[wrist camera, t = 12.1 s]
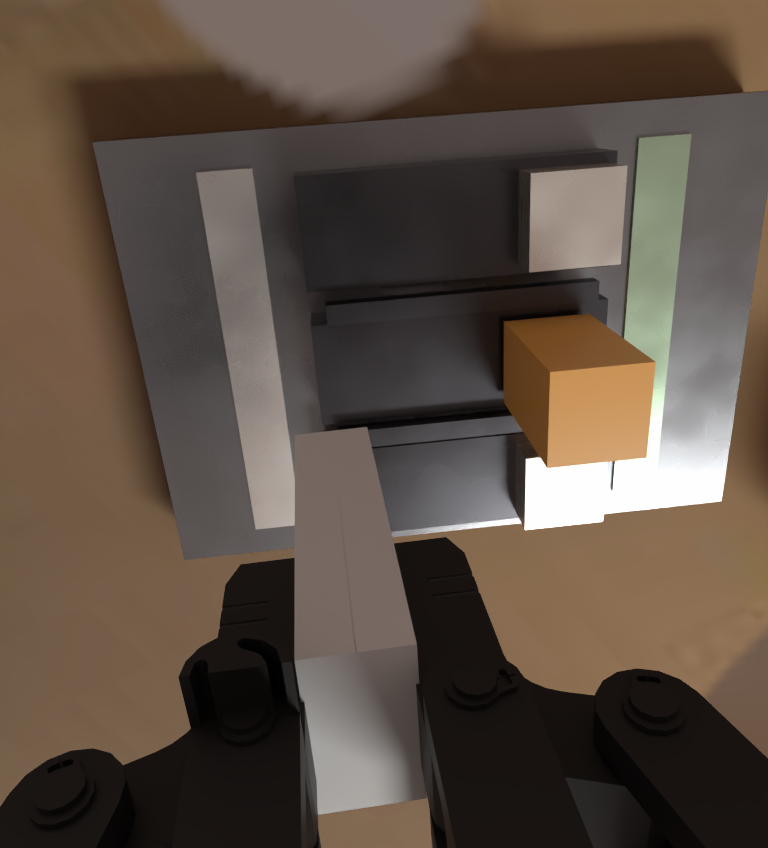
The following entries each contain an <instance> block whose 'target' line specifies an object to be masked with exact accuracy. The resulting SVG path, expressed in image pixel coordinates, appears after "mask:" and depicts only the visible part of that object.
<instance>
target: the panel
mask: <svg viewBox="0 0 768 848" xmlns="http://www.w3.org/2000/svg"><path fill="white" fill-rule="evenodd" d="M92 143H93V148H94V152H95V157H96V161H97V166H98V170H99V175H100V179H101V184H102V188H103V193H104V197H105V202H106V206H107V211H108V216H109V220H110V225H111V229H112V234H113V238H114V243H115V247H116V252H117V256H118V261H119V265H120V270H121V274H122V279H123V283H124V288H125V292H126V297H127V301H128V306H129V310H130V315H131V320H132V324H133V329H134V333H135V338H136V342H137V347H138V351H139V356H140V360H141V365H142V369H143V374H144V378H145V383H146V387H147V392H148V396H149V401H150V405H151V410H152V414H153V419H154V424H155V428H156V433H157V437H158V442H159V446H160V451H161V455H162V460H163V464H164V469H165V473H166V478H167V482H168V487H169V491H170V496H171V500H172V505H173V509H174V514H175V518H176V523H177V528H178V532H179V537H180V541H181V546H182V550H183V555H184V559H185V560H187V559H196V558H205V557H214V556H223V555H232V554H242V553H251V552H260V551H269V550H278V549H288V548H295V435H298V434H307V433H316V432H325V431H335V430H344V429H353V428H362V427H367V429H368V433H369V437H370V442H371V446H372V450H373V455H374V459H375V464H376V468H377V472H378V477H379V481H380V485H381V490H382V494H383V498H384V503H385V507H386V512H387V516H388V520H389V525H390V529H391V533H392V537H398V536H407V535H416V534H425V533H434V532H444V531H453V530H462V529H471V528H480V527H490V526H499V525H508V524H517V523H522V525H523V527H524V529H525V530H528V529H538V528H547V527H556V526H565V525H574V524H583V523H592V522H602V521H603V514H609V513H618V512H627V511H636V510H646V509H655V508H664V507H673V506H682V505H692V504H701V503H710V502H719V501H722V494H723V488H724V481H725V474H726V467H727V461H728V454H729V447H730V440H731V434H732V427H733V420H734V413H735V407H736V400H737V393H738V387H739V380H740V373H741V366H742V360H743V353H744V346H745V339H746V333H747V326H748V319H749V313H750V306H751V299H752V292H753V286H754V279H755V272H756V265H757V259H758V252H759V245H760V238H761V232H762V225H763V218H764V212H765V205H766V198H767V191H768V91H755V92H738V93H725V94H711V95H698V96H685V97H672V98H658V99H645V100H632V101H619V102H605V103H592V104H579V105H566V106H552V107H539V108H526V109H512V110H499V111H486V112H473V113H459V114H446V115H433V116H420V117H406V118H393V119H380V120H367V121H353V122H340V123H327V124H314V125H300V126H287V127H274V128H261V129H247V130H234V131H221V132H207V133H194V134H181V135H168V136H154V137H141V138H128V139H115V140H106V141H98V142H92ZM578 314H591V315H592V316H593V317H595V318H596V319H597V320H599V321H600V322H602V323H603V324H604V325H606V326H607V327H608V328H610V329H611V330H613V331H614V332H615V333H617V334H618V335H619V336H621V337H622V338H624V339H625V340H626V341H628V342H629V343H631V344H632V345H633V346H635V347H636V348H637V349H639V350H640V351H642V352H643V353H644V354H646V355H647V356H648V357H650V358H651V359H653V360H654V361H655V362H656V365H655V375H654V386H653V396H652V407H651V417H650V428H649V438H648V449H647V458H640V459H631V460H621V461H612V462H602V463H592V464H583V465H573V466H564V467H554V468H547V467H546V466H545V464H544V463H543V461H542V460H541V458H540V457H539V455H538V454H537V452H536V450H535V449H534V447H533V446H532V444H531V443H530V441H529V440H528V438H527V437H526V435H525V434H524V432H523V431H522V429H521V428H520V426H519V425H518V423H517V422H516V420H515V419H514V417H513V416H512V414H511V413H510V411H509V409H508V408H507V406H506V405H505V403H504V321H513V320H524V319H535V318H546V317H556V316H567V315H578Z"/></svg>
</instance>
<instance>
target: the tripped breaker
mask: <svg viewBox="0 0 768 848" xmlns="http://www.w3.org/2000/svg"><path fill="white" fill-rule="evenodd" d="M655 365H656V362H655V361H654V360H653V359H651V358H650V357H648V356H647V355H646V354H644V353H643V352H642V351H640V350H639V349H637V348H636V347H635V346H633V345H632V344H631V343H629V342H628V341H626V340H625V339H624V338H622V337H621V336H619V335H618V334H617V333H615V332H614V331H613V330H611V329H610V328H608V327H607V326H606V325H604V324H603V323H602V322H600V321H599V320H597V319H596V318H595V317H593V316H592V315H591V314H578V315H567V316H556V317H546V318H535V319H524V320H513V321H504V403H505V405H506V406H507V408H508V409H509V411H510V413H511V414H512V416H513V417H514V419H515V420H516V422H517V423H518V425H519V426H520V428H521V429H522V431H523V432H524V434H525V435H526V437H527V438H528V440H529V441H530V443H531V444H532V446H533V447H534V449H535V450H536V452H537V454H538V455H539V457H540V458H541V460H542V461H543V463H544V464H545V466H546V467H547V468H554V467H564V466H573V465H583V464H592V463H602V462H612V461H621V460H631V459H640V458H647V449H648V438H649V428H650V417H651V407H652V396H653V386H654V375H655Z"/></svg>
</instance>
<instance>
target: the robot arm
mask: <svg viewBox="0 0 768 848" xmlns="http://www.w3.org/2000/svg"><path fill="white" fill-rule="evenodd" d="M222 607H223V611H222V613H221V619H220V629H219V633H218V638H216V639H214V640H213V641H211V642H209V643H207V644H205V645H203V646H202V647H200V648H199V649H198V650H197V651H196V652H195V653H194V654H193V655H192V656H191V657H190V658H189V659H188V660H187V661H186V662H185V664H184V666H183V668H182V671H181V673H180V675H179V681H180V685H181V689H182V693H183V698H184V702H185V706H186V710H187V714H188V718H189V722H190V726H191V729H190V730H189V731H188V732H187V733H186V734H185V735H183V736H182V737H181V738H179V739H178V740H177V741H175V742H174V743H173V744H171V745H169V746H167V747H165V748H163V749H161V750H159V751H157V752H155V753H152V754H150V755H148V756H145V757H143V758H140V759H138V760H135V761H133V762H130V763H128V764H126V765H123V766H122V764H121V763H120V762H119V761H118V760H117V759H116V758H115V757H114V756H113V755H112V754H111V753H108V752H104V751H100V750H97V749H84V750H74V751H69V752H67V753H64V754H62V755H59V756H57V757H54V758H52V759H49V760H47V761H46V762H44V763H43V764H41V765H40V766H38V767H37V768H36V769H34V770H33V771H31V772H30V773H28V774H27V775H26V776H25V777H24V778H23V779H22V780H21V781H20V782H19V784H18V785H17V786H16V787H15V788H14V789H13V790H12V791H11V792H10V794H9V795H8V796H7V798H6V799H5V801H4V802H3V804H2V805H1V807H0V848H321V844H320V838H319V831H318V815H319V814H326V813H332V812H339V811H346V810H352V809H359V808H365V807H372V806H379V805H385V804H392V803H398V802H405V801H412V800H418V799H425V798H426V792H427V797H428V802H429V807H430V820H431V836H432V848H768V758H767V757H766V756H765V755H763V754H762V753H761V752H760V751H759V750H758V749H757V748H756V747H755V746H754V745H753V744H752V743H751V742H750V741H749V740H748V739H747V738H745V737H744V736H743V735H742V734H741V733H740V732H739V731H738V730H737V729H736V728H735V727H734V726H733V725H732V724H731V723H730V722H729V721H728V720H727V719H726V718H725V717H723V716H722V715H721V714H720V713H719V712H718V711H717V710H716V709H715V708H714V707H713V706H712V705H711V704H710V703H709V702H708V701H707V700H706V699H705V698H704V697H702V696H701V695H700V694H699V693H698V692H697V691H696V690H694V689H693V688H691V687H690V686H689V685H687V684H686V683H684V682H683V681H682V680H680V679H678V678H675V677H673V676H670V675H667V674H665V673H662V672H659V671H653V670H644V669H632V670H626V671H620V672H617V673H615V674H613V675H612V676H610V677H608V678H607V679H605V680H603V682H602V683H601V685H600V687H599V688H598V690H597V692H596V694H595V696H593V695H585V694H577V693H569V692H562V691H557V690H552V689H547V688H544V687H542V686H539V685H537V684H534V683H532V682H530V681H529V680H527V679H526V678H524V677H523V675H522V674H521V673H520V671H519V670H518V668H517V667H516V666H514V665H513V664H511V663H510V662H508V661H507V660H506V658H505V656H504V654H503V652H502V649H501V647H500V644H499V642H498V639H497V636H496V634H495V631H494V629H493V626H492V623H491V621H490V618H489V616H488V613H487V610H486V608H485V605H484V603H483V600H482V597H481V595H480V593H479V591H478V587H477V584H476V582H475V579H474V577H473V576H472V571H471V569H470V566H469V564H468V561H467V558H466V556H465V553H464V552H463V551H462V550H460V549H459V548H458V547H457V546H456V545H455V544H453V543H452V542H451V541H450V540H449V539H447V538H446V537H444V538H436V539H428V540H420V541H411V542H403V543H395V544H394V542H393V538H392V533H391V529H390V525H389V520H388V516H387V512H386V507H385V503H384V498H383V494H382V490H381V485H380V481H379V477H378V472H377V468H376V464H375V459H374V455H373V450H372V446H371V442H370V437H369V433H368V429H367V427H362V428H353V429H344V430H335V431H325V432H316V433H307V434H298V435H295V558H290V559H282V560H274V561H266V562H257V563H249V564H241V565H240V566H239V568H238V569H237V570H236V572H235V573H234V574H233V576H232V577H231V578H230V580H229V581H228V582H227V584H226V586H225V592H224V599H223V606H222ZM317 809H318V810H317Z"/></svg>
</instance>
